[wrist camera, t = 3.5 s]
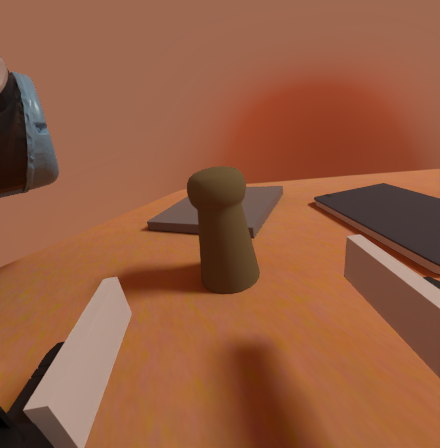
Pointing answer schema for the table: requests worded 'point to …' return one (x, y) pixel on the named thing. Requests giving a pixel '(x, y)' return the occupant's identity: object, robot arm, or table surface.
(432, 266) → the notebook
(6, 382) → the table surface
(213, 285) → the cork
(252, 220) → the slate board
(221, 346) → the table surface
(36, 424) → the robot arm
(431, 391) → the table surface
